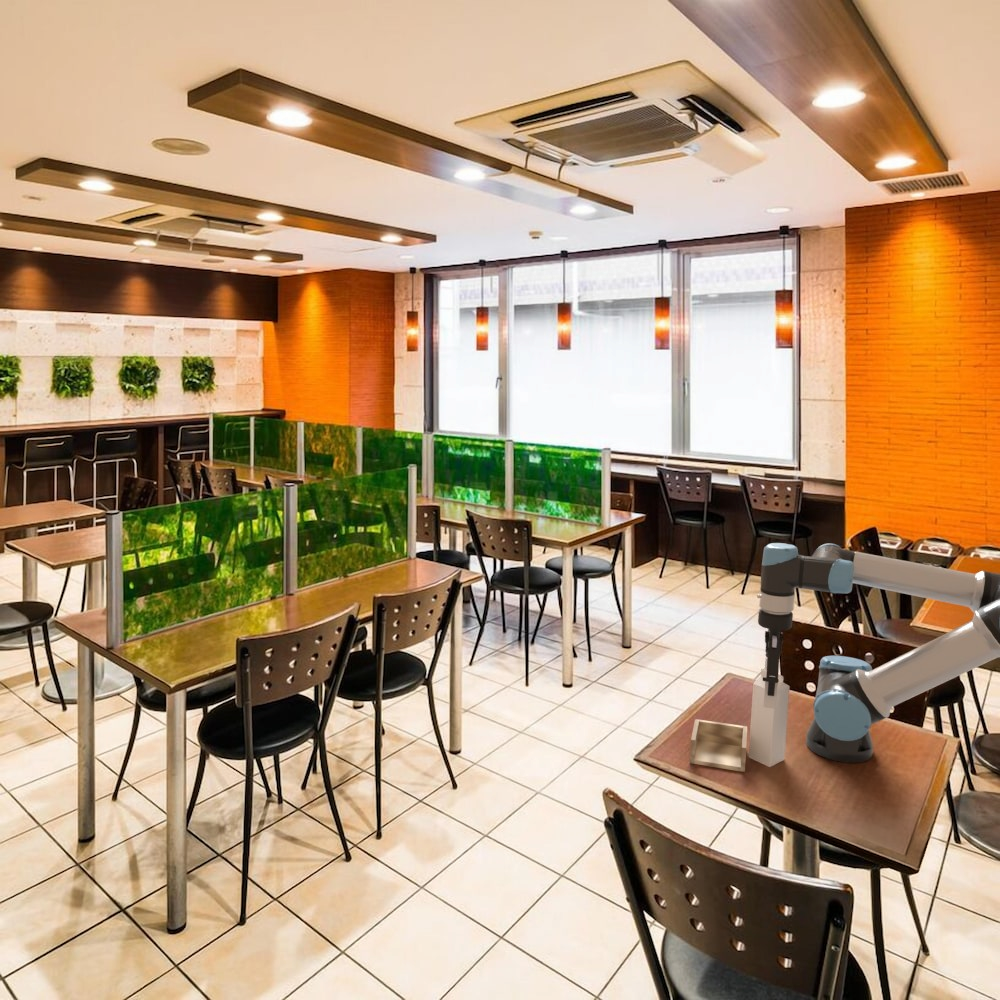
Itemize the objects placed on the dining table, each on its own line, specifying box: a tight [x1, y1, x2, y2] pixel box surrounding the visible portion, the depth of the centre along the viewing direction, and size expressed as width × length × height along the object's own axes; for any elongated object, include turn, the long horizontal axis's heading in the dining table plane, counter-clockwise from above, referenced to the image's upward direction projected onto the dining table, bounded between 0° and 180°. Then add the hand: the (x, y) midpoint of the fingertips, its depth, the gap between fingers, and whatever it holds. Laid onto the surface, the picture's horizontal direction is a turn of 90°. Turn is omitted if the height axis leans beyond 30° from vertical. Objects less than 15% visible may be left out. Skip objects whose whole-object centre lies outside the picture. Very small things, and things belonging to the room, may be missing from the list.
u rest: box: [689, 718, 748, 773], centre depth 187 cm, size 12×12×6 cm
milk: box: [748, 668, 790, 768], centre depth 185 cm, size 6×6×22 cm
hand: (769, 695), depth 184 cm, fingers open, 13 cm apart
